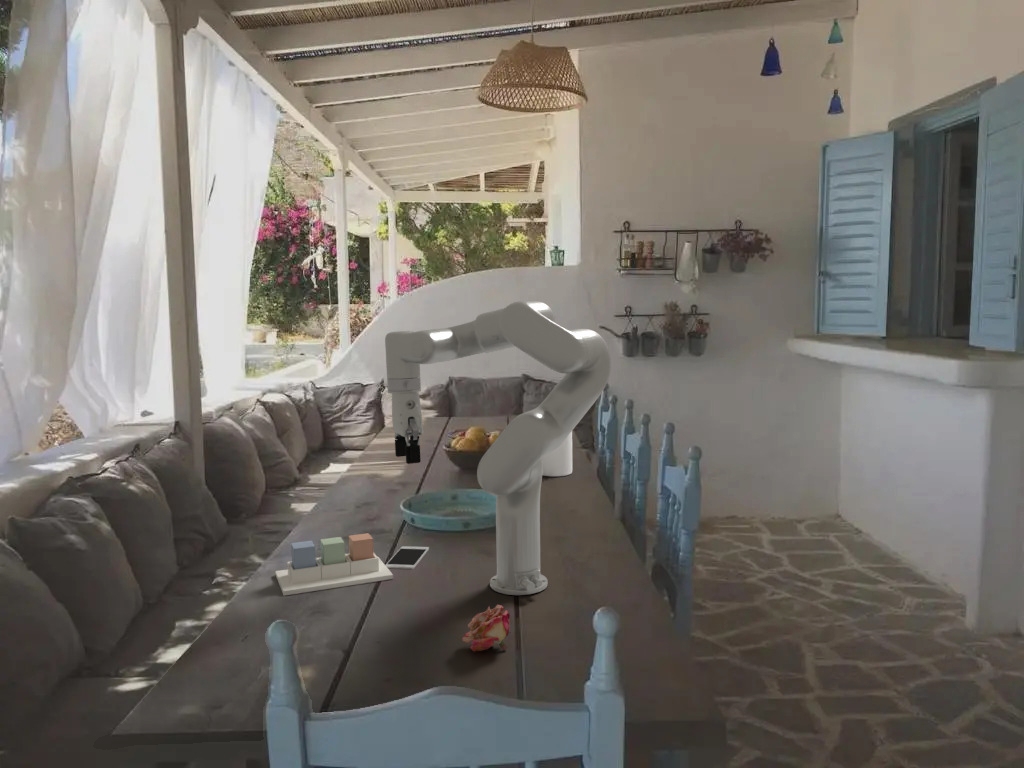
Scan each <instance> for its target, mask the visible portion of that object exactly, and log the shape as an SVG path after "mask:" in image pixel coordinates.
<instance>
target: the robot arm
mask: <svg viewBox="0 0 1024 768" xmlns="http://www.w3.org/2000/svg"><path fill="white" fill-rule="evenodd" d="M384 347H385V362H386V366H385V367H386V380H387V381H386V382H387V383H386V385H387V393H388V394H391V419H392V429H393V431H394V452H395V457H397V458H400V457H405V462H406V464H407V465H411V464H419V463H421V442H420V436H422V435H423V434H424V427H423V426H424V425H423V415H422V414H423V413H422V406H421V399H420V394H419V392H421V391H422V390H421V389H422V387H421V385H422V384H421V367H420V365H431V364H437V363H443V362H450V361H454V360H458V359H462V358H465V357H471V356H475V355H479V354H483V353H485V354H488V353H493V352H497V351H503V350H505V349H510V348H513V347H514V348H515V347H516V348H517V349H519V350H520V351H522V352H523V353H525V354H526V355H528V356H529V357H531V358H533V359H534V360H536V361H537V362H539V363H540V364H542V365H543V366H545V367H546V368H548V369H550V370H552V371H553V372H556V373H560V374H565V375H564V376H563V377H562V378H561V379H560V381H559V380H558V381H559V382H557V383H556V385H554V387H553V388H552V389H551V391H550V392H549V393H548V394H547V396H546V397H545V398H544V399H543V401H542V402H541V403H540V404H539V405H538V406H537V407H535V408H532V409H530V410H528V411H525V412H523V413H520V414H518V415H517V416H516V417H515V418H513V419H511V421H510V422H509V423H508V424H507V425H506V426H505V428H504V429H503V430H502V431H501V433H500V434H499V435H498V436H497V438H496V439H495V441H494V442H493V443H492V444H490V445H491V446H489V448H488V449H487V450H486V451H485V453H484V454H483V456H482V457H481V459H480V460H479V463H478V465H477V470H476V471H477V472H476V477H477V482H478V484H479V486H480V487H481V489H482V490H484V492H486V493H487V494H489V495H491V496H494V497H496V499H495V500H496V502H495V537H496V538H495V539H496V543H495V544H496V546H495V547H496V575H494V576H492V577H491V578H490V579H489V587H490V588H491V589H492V590H493V591H495V592H497V593H500V594H503V595H512V596H526V595H527V596H528V595H532V594H536V593H539V592H542V591H543V590H546V588H548V587H547V586H548V583H549V582H548V578H547V577H546V576H545V575H543V574H542V573H541V514H540V513H541V506H540V505H541V488H542V482H543V481H542V480H543V475H542V473H543V464H542V459H541V458H542V457H543V456H544V455H545V454H548V453H550V452H552V451H554V450H555V449H557V448H558V447H559V446H560V445H561V444H562V443H563V442H564V440H565V439H566V438H567V436H568V435H569V434H570V432H571V431H572V432H573V430H574V429H575V427H576V426H577V425H578V424H579V423H580V421H582V419H583V418H584V416H585V415H586V414H587V413H588V411H589V410H590V409H591V407H592V406H594V404H595V402H596V401H597V400H598V399H599V397H600V396H601V394H602V393H603V391H604V389H605V388H606V386H607V383H608V381H609V379H610V374H611V368H612V359H611V354H610V353H611V352H610V350H609V347H608V344H607V343H606V340H605V339H604V338H603V336H602V335H600V334H599V333H598V332H597V331H595V330H592V329H588V328H573V329H572V328H571V329H567V328H564V327H562V326H561V325H559V324H557V323H556V319H555V314H554V312H553V310H552V308H551V307H550V306H549V305H548V304H546V303H545V302H542V301H539V300H524V301H521V300H520V301H516V302H513V303H512V302H511V303H510V304H508V305H506V306H505V307H504V308H501V309H496V310H495V309H494V310H490V311H488V312H483V313H480V314H478V315H477V316H476V318H475V320H472V321H469V322H465V323H461V324H457V325H454V326H451V327H444V328H433V329H424V330H423V329H422V330H418V331H410V330H405V331H398V330H397V331H390V332H388V333H386V335H385V338H384Z"/></svg>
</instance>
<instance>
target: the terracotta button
mask: <svg viewBox="0 0 1024 768" xmlns="http://www.w3.org/2000/svg"><path fill="white" fill-rule="evenodd" d="M348 549H349V551H348V554H349V556H350V558H351V560H352V561H358V560H365V559H372V558H374V554H373V552H374V538H373V536H372V535H371V534H370V533H368V532H367V533H359V534H353V535H352V534H351V535H348Z"/></svg>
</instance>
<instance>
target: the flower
mask: <svg viewBox="0 0 1024 768" xmlns="http://www.w3.org/2000/svg"><path fill="white" fill-rule="evenodd" d="M504 609H505V608H504V606H503V605H501V604H496V605H495V607H494V608H492V609H491V608H490V606H488V607H487V609H486V610H485V611H484V612H478V613H477V614H476V615H474V616H473V617H472V619H471V621H470V622H469V623H468V624H467V627H468V629H470V631H468V632H467V633H465V634H464V635H463V637H462V642H464V643H465V644H469V643H470V642H471V644H470V645H469V647H470V650H472V651H473V652H474V653H475V652H478V651H485V650H488V649H491V647H492V646H498V645H499V647H500V648H501V649H502V651H506V650H507V649H508V646H507V645H506V644H505V643H504V640H505V639H506V638H508V637H509V636H510V633H511V631H510V630H511V622H512V620H510V617H511V614H510V613H509V611H508V610H507V609H505V610H504Z"/></svg>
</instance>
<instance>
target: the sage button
mask: <svg viewBox="0 0 1024 768" xmlns="http://www.w3.org/2000/svg"><path fill="white" fill-rule="evenodd" d="M319 542H320V543H319V544H320V557H321V561H322V563H323V565H329V564H336V563H343V562H345V554H346V549H345V547H346V546H345V545H346V544H345V540H344V539H343V538H342V537H341V536H336V537H329V538H321V539H320V541H319Z"/></svg>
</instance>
